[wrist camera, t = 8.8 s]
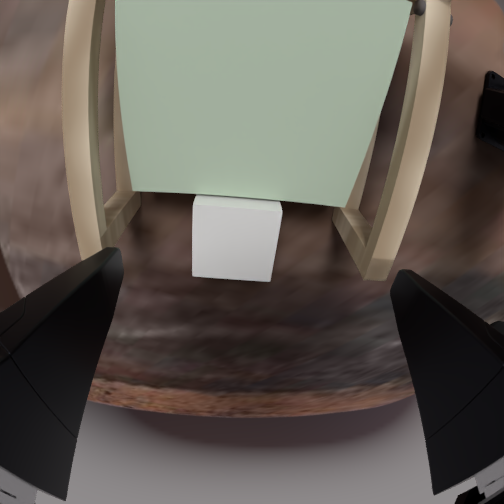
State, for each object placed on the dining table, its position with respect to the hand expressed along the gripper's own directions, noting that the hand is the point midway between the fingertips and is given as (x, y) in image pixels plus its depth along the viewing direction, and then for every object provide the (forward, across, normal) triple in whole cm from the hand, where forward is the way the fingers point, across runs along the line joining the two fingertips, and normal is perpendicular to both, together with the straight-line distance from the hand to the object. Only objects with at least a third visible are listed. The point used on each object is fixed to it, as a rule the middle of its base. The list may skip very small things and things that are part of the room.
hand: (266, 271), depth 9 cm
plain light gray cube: (+10, +1, +2) cm, 11 cm away
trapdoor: (+8, +1, -5) cm, 10 cm away
